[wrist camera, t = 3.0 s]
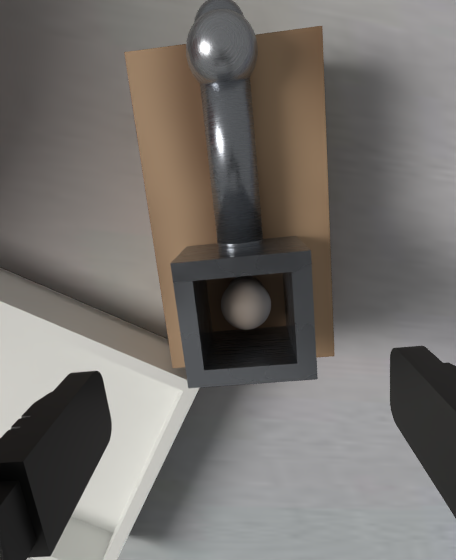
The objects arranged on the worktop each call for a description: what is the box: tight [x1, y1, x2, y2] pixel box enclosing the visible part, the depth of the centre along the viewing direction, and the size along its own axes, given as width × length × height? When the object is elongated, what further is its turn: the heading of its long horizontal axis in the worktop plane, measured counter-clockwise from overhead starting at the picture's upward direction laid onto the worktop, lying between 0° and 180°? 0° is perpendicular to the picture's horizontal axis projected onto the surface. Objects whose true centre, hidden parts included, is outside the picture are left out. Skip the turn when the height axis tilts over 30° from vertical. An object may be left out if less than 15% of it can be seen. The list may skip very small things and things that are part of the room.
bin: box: [0, 268, 199, 560], centre depth 26 cm, size 22×18×4 cm
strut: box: [170, 0, 317, 388], centre depth 16 cm, size 6×16×4 cm, turn 6°
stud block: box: [124, 26, 334, 368], centre depth 20 cm, size 9×16×8 cm, turn 6°
